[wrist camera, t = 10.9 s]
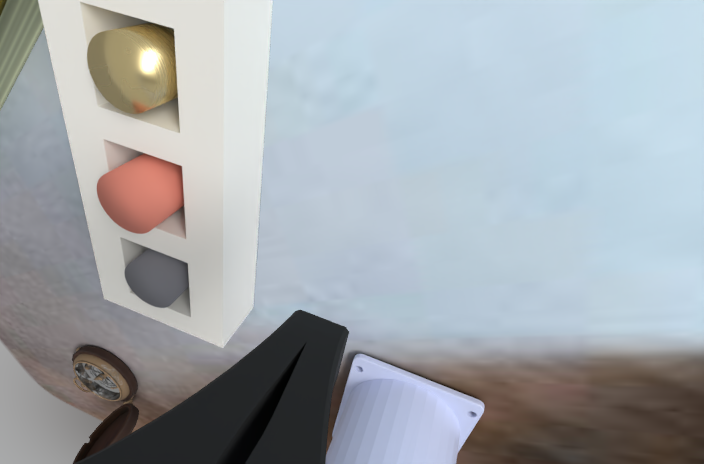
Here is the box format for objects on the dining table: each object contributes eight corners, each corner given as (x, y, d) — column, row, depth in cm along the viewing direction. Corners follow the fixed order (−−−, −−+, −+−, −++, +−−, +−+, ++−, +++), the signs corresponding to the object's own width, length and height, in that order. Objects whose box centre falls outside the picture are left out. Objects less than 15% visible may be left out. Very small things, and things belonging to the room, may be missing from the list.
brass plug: (216, 95, 20) (158, 123, 17) (160, 78, 21) (94, 102, 17) (216, 27, 18) (151, 42, 15) (155, 9, 19) (80, 21, 16)
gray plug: (217, 271, 27) (175, 315, 23) (174, 255, 27) (128, 295, 24) (217, 232, 25) (172, 274, 22) (171, 216, 25) (121, 254, 22)
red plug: (209, 201, 23) (158, 242, 20) (160, 184, 23) (102, 221, 20) (208, 150, 21) (152, 185, 18) (155, 132, 22) (91, 163, 18)
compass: (99, 335, 36) (17, 409, 30) (165, 399, 38) (100, 480, 32) (60, 355, 40) (-19, 424, 34) (121, 412, 42) (57, 486, 36)
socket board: (253, 307, 27) (222, 348, 25) (144, 264, 29) (104, 298, 26) (273, -13, 17) (224, -6, 14) (101, -58, 18) (24, -59, 15)
